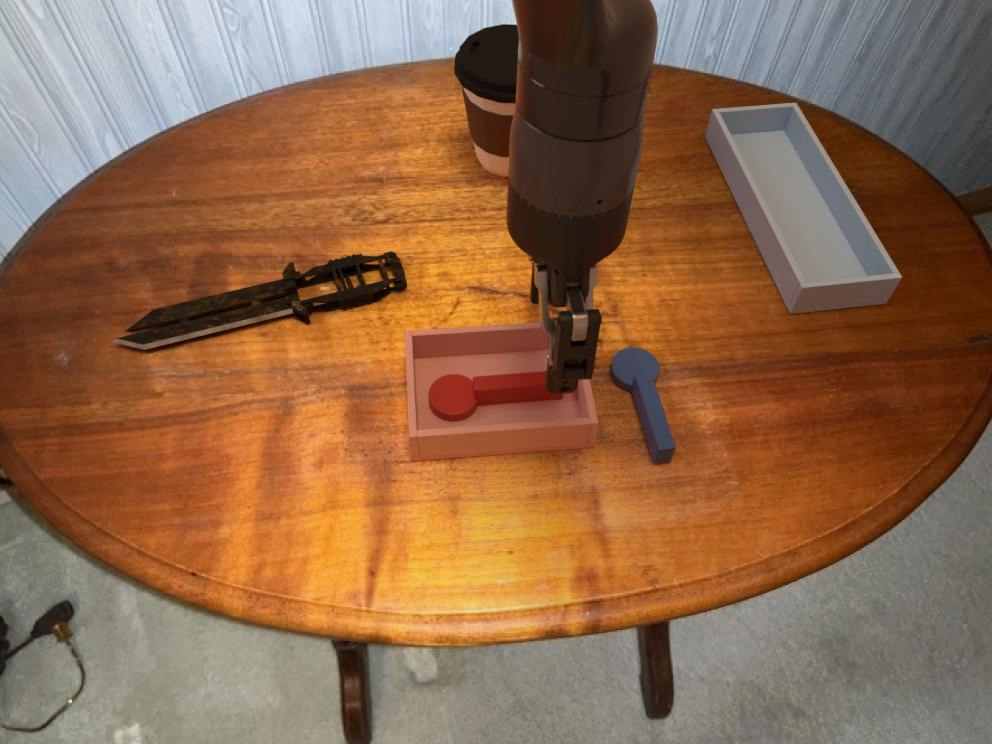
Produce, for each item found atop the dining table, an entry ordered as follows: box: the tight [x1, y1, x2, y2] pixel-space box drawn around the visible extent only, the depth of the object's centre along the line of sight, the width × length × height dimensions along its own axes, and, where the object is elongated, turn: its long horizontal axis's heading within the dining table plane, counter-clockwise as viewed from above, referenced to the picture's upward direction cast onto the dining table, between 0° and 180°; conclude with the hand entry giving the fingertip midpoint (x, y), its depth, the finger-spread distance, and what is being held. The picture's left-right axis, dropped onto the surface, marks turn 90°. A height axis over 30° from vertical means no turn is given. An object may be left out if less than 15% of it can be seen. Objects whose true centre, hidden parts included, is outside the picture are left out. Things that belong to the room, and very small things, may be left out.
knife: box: [111, 251, 408, 351], centre depth 72 cm, size 25×6×1 cm, turn 105°
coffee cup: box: [453, 23, 519, 178], centre depth 80 cm, size 11×11×12 cm
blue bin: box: [704, 102, 903, 315], centre depth 79 cm, size 25×9×4 cm, turn 9°
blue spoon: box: [609, 346, 677, 465], centre depth 66 cm, size 11×4×2 cm, turn 9°
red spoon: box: [429, 371, 563, 421], centre depth 65 cm, size 11×4×2 cm, turn 96°
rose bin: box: [404, 321, 600, 462], centre depth 65 cm, size 14×10×4 cm
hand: (552, 342), depth 61 cm, fingers open, 8 cm apart
